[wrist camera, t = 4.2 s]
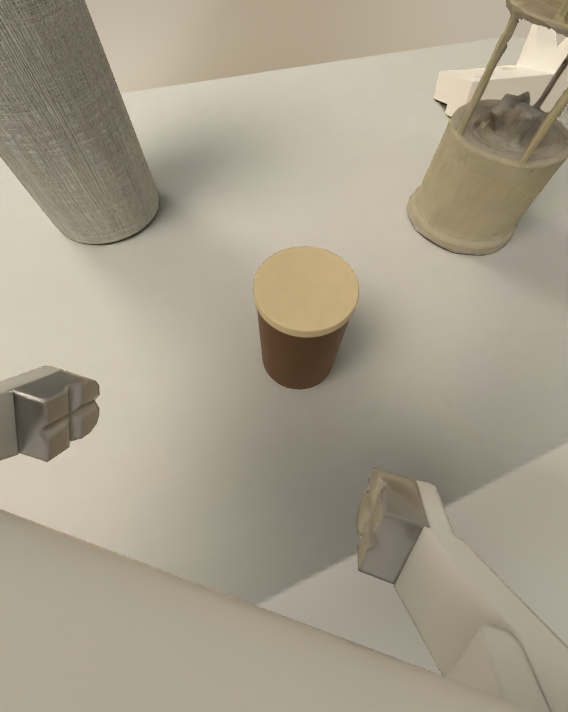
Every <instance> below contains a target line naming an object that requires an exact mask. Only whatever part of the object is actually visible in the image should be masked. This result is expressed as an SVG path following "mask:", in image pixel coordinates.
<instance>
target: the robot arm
mask: <svg viewBox="0 0 568 712" xmlns="http://www.w3.org/2000/svg"><path fill="white" fill-rule="evenodd" d="M99 395H100V393H99V384H98V383H97V382H96V381H95V380H92V379H89V378H86V377H83V376H80V375H77V374H74V373H71V372H68V371H64V370H62V369H59V368H55V367H52V366H43V367H40V368H37V369H34V370H32V371H29V372H26V373H23V374H20V375H18V376H15V377H12V378H9V379H7V380H4V381H1V382H0V460H3V459H6V458H9V457H12V456H15V455H18V453H21V454H24V455H27V456H31V457H34V458H37V459H40V460H43V461H46V462H48V461H50V460H51V459H53V458H54V457H55V456H57V455H58V454H60V453H61V452H63V451H64V450H66V449H67V448H69V445H70V442H71V441H73V440H77V439H81V438H83V437H85V436H86V435H87V434H89V433H90V432H91V431H92V429H93V428H94V427H95V425H96V424H97V421H98V418H99V407H98V405H97V403H96V401H95V399H96V398H97V397H98V396H99ZM357 531H358V533H359V534H360V536H361V538H360V541H359V543H358V546H357V547H358V571H360V572H363V573H366V574H368V575H371V576H374V577H376V578H379V579H381V580H384V581H386V582H389V583H392V584H394V587H395V589H396V591H397V593H398V595H399V597H400V598H401V600H402V602H403V604H404V606H405V607H406V609H407V611H408V613H409V615H410V617H411V618H412V620H413V622H414V624H415V626H416V628H417V630H418V631H419V633H420V635H421V637H422V639H423V641H424V642H425V644H426V646H427V648H428V649H429V651H430V653H431V655H432V657H433V659H434V661H435V663H436V664H437V666H438V668H439V670H440V671H441V674H442V675H443V676H441V675H439V674H436V673H434V672H431V671H428V670H426V669H423V668H420V667H417V666H415V665H412V664H410V663H407V662H404V661H402V660H399V659H396V658H394V657H391V656H388V655H386V654H383V653H381V652H378V651H375V650H372V649H370V648H367V647H364V646H362V645H359V644H357V643H354V642H351V641H349V640H346V639H343V638H341V637H338V636H335V635H333V634H330V633H327V632H325V631H322V630H319V629H317V628H314V627H312V626H309V625H306V624H304V623H301V622H298V621H295V620H293V619H290V618H287V617H285V616H282V615H280V614H277V613H275V612H272V611H269V610H266V609H264V608H261V607H259V606H256V605H253V604H251V603H248V602H245V601H243V600H240V599H237V598H235V597H232V596H230V595H227V594H224V593H222V592H219V591H216V590H214V589H211V588H208V587H206V586H203V585H200V584H198V583H195V582H192V581H190V580H187V579H184V578H182V577H179V576H177V575H174V574H171V573H169V572H166V571H163V570H161V569H158V568H155V567H153V566H150V565H147V564H145V563H142V562H139V561H137V560H134V559H131V558H129V557H126V556H123V555H121V554H118V553H116V552H113V551H110V550H108V549H105V548H102V547H100V546H97V545H94V544H92V543H89V542H86V541H84V540H81V539H78V538H76V537H73V536H70V535H68V534H65V533H63V532H60V531H57V530H55V529H52V528H49V527H47V526H44V525H41V524H39V523H36V522H33V521H31V520H28V519H25V518H23V517H20V516H17V515H15V514H12V513H10V512H7V511H4V510H2V509H0V712H568V647H567V646H566V645H565V644H564V643H563V642H562V641H561V640H560V638H559V637H557V636H556V634H555V633H554V632H553V631H552V630H551V629H550V628H549V627H548V626H547V625H546V624H545V623H544V622H543V621H542V620H541V619H540V618H539V617H538V616H537V615H536V614H535V613H534V612H533V611H532V610H531V609H530V608H529V607H528V606H527V605H526V604H525V603H524V602H523V601H522V600H521V599H520V598H519V597H518V596H517V595H516V594H515V593H514V592H513V591H512V590H511V589H510V588H509V586H508V585H506V584H505V583H504V581H503V580H502V579H501V578H500V577H499V576H498V575H497V574H496V573H495V572H494V571H493V570H492V569H491V568H490V567H489V566H488V565H487V564H486V563H485V562H484V561H483V560H482V559H481V558H480V557H479V556H478V555H477V554H476V553H475V552H474V551H473V550H472V549H471V548H470V547H469V546H468V545H467V544H466V543H465V542H464V541H463V540H462V539H461V538H458V537H455V535H454V532H453V530H452V527H451V524H450V522H449V519H448V517H447V514H446V511H445V509H444V506H443V504H442V501H441V498H440V496H439V493H438V490H437V488H436V487H435V486H434V485H433V484H430V483H427V482H423V481H419V480H416V479H411V478H407V477H404V476H401V475H397V474H394V473H390V472H387V471H383V470H380V469H377V468H374V470H373V472H372V473H371V476H370V478H369V490H368V491H367V492H365V493H364V494H363V496H362V499H361V502H360V506H359V510H358V516H357Z"/></svg>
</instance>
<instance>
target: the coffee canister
mask: <svg viewBox="0 0 568 712" xmlns="http://www.w3.org/2000/svg"><path fill="white" fill-rule="evenodd" d="M253 293H254V300H255V304H256V307H257V312H258V321H259V330H260V338H261V347H262V356H263V363H264V366H265V369H266V371H267V372H268V374H269V375H270V376H271V378H272V379H273V380H275V381H276V382H277V383H279V384H281V385H283V386H285V387H288V388H292V389H305V388H310V387H313V386H315V385H317V384H319V383H320V382H321V381H323V380H324V379H325V378H326V377H327V375H328V374H329V372H330V370H331V368H332V365H333V362H334V360H335V357H336V354H337V351H338V349H339V346H340V343H341V340H342V338H343V335H344V332H345V329H346V326H347V324H348V321H349V319H350V317H351V316H352V314H353V312H354V310H355V307H356V305H357V302H358V298H359V285H358V281H357V278H356V275H355V273H354V272H353V270H352V269H351V267H350V266H349V265H348V264H347V263H346V262H345V261H344V260H343V259H342V258H340V257H339V256H337V255H335V254H333V253H331V252H329V251H327V250H324V249H320V248H315V247H306V246H304V247H293V248H288V249H285V250H282V251H279V252H277V253H275V254H274V255H272V256H270V257H269V258H268V259H267V260H266V261H265V262H264V263H263V264H262V265H261V266H260V268H259V269H258V271H257V273H256V275H255V278H254V283H253Z"/></svg>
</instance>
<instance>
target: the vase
mask: <svg viewBox="0 0 568 712" xmlns="http://www.w3.org/2000/svg"><path fill="white" fill-rule="evenodd" d="M0 157H1V158H2V159H3V160H4V162H5V163H6V164H7V166H8V167H9V168H10V169H11V171H12V172H13V173H14V174H15V176H16V177H17V178H18V180H19V181H20V182H21V183H22V185H23V186H24V187H25V188H26V190H27V191H28V192H29V193H30V195H31V196H32V197H33V199H34V200H35V201H36V202H37V204H38V205H39V206H40V207H41V209H42V210H43V211H44V212H45V214H46V215H47V216H48V218H49V219H50V220H51V221H52V222H53V224H54V225H55V226H56V227H57V228H58V229H59V230H60V231H61V232H62V234H64V235H65V236H66V237H68V238H70V239H72V240H74V241H77V242H81V243H88V244H103V243H111V242H115V241H119V240H122V239H125V238H127V237H130V236H132V235H133V234H135V233H137V232H139V231H140V230H142V229H143V228H144V227H145V226H146V225H147V224H148V223H149V222H150V221H151V220H152V219H153V218H154V216H155V214H156V212H157V210H158V207H159V196H158V193H157V190H156V186H155V183H154V181H153V178H152V175H151V173H150V170H149V168H148V165H147V162H146V160H145V157H144V154H143V152H142V149H141V147H140V144H139V141H138V139H137V136H136V133H135V131H134V128H133V126H132V123H131V120H130V118H129V115H128V113H127V110H126V107H125V105H124V102H123V99H122V97H121V94H120V92H119V89H118V86H117V84H116V81H115V78H114V76H113V73H112V71H111V68H110V65H109V63H108V60H107V58H106V55H105V52H104V50H103V47H102V44H101V42H100V39H99V37H98V34H97V31H96V29H95V26H94V24H93V21H92V18H91V16H90V13H89V10H88V8H87V5H86V3H85V0H0Z"/></svg>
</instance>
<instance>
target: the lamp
mask: <svg viewBox="0 0 568 712" xmlns="http://www.w3.org/2000/svg"><path fill="white" fill-rule="evenodd" d="M506 6H507V8H508V9H509V11H510V14H511V16H510V19H509V22H508V26H507V27H506V29H505V31H504V33H503V34H502V36H501V37H500V39H499V41H498V43H497V45H496V47H495V50H494V52H493V54H492V57H491V59H490V61H489V63H488V65H487V67H486V69H485V71H484V73H483V75H482V77H481V79H480V81H479V84H478V86H477V88H476V90H475V92H474V94H473V96H472V98H471V101H470V102H468V103H467V104H465V105H463V106H461V107H459V108H458V109H457V110H456V111H455V112H454V113H453V115H452V117H451V119H450V121H449V123H448V126H447V128H446V130H445V133H444V135H443V137H442V139H441V142H440V144H439V146H438V148H437V150H436V153H435V155H434V157H433V159H432V162H431V164H430V166H429V168H428V170H427V173H426V175H425V177H424V180H423V182H422V184H421V186H419V187H418V188H417V189H416V190H415V192H414V193H413V194H412V195H411V197H410V200H409V203H408V212H409V217H410V219H411V221H412V223H413V225H414V227H415V229H416V231H418V232H419V233H421V234H422V235H424V236H425V237H426V238H428V239H429V240H431V241H432V242H434V243H436V244H437V245H439V246H441V247H443V248H445V249H447V250H450V251H452V252H454V253H462V254H473V255H485V254H490V253H494V252H496V251H498V250H499V249H500V248H501V247H503V246H504V245H505V244H506V243H507V242H508V241H509V239H510V238H511V237H512V235H513V233H514V231H515V228H516V223H517V221H518V220H519V219H520V218H521V216H522V215H523V214H524V212H525V211H526V210H527V209H528V207H529V206H530V205H531V203H532V202H533V201H534V199H535V198H536V197H537V196H538V194H539V193H540V192H541V190H542V189H543V188H544V186H545V185H546V184H547V182H548V181H549V180H550V179H551V177H552V176H553V175H554V173H555V172H556V171H557V170H558V168H559V167H560V166H561V165H562V163H563V162H564V161H565V160H566V158H567V157H568V130H567V129H566V128H565V127H564V126H563V125H562V123H561V122H559V121H558V120H557V117H558V116H559V114H560V113H561V112H562V110H563V109H564V107H565V106H566V104H567V103H568V87H567V89H566V90H564V91H563V93H562V95H561V97H560V98H559V99H558V100H557V101H556V103H555V105H554V107H553V108H552V109H551V111H550V113H549V114H547V113H546V112H544V111H542V110H541V109H540V107H541V105H542V104H543V102H544V101H545V99H546V98H547V96H548V95H549V93H550V92H551V90H552V88H553V87H554V85H555V83H556V82H557V80H558V79H559V77H560V76H561V74H562V73H563V71H564V70H565V69H566V67H567V66H568V54H567V56H566V58H565V59H564V61H563V62H562V64H561V65H560V67H559V68H558V69H557V71H556V72H555V74H554V76H553V77H552V79H551V81H550V82H549V84H548V85H547V87H546V89H545V90H544V92H543V93H542V95H541V97H540V98H539V100H538V101H537V102H536V103H535V104H534V105H533V106H531V105H529V104H530V93H529V92H528V91H526V92H524V93H522V94H520V95H518V96H516V95H512V94H505V95H504V97H503V98H502V99H501V100H495V99H486V100H480V99H481V97H482V95H483V93H484V91H485V89H486V87H487V84H488V82H489V80H490V78H491V76H492V73H493V71H494V69H495V67H496V65H497V63H498V61H499V60H500V58H501V56H502V54H503V53H504V52H505V50H506V48H507V42H508V41H509V40H510V38H511V37H512V34H513V33H514V30H515V28H516V26H517V23H519V21H518V19H519V18H520V19H521V20H522V19H525V20H527V21H529V22H531V23H533V24H535V25H539V26H540V25H542V26H543V27H547V29H548V30H549V29H551V28H552V29H553V30H554V31H556V32H557V33H558V34H563V35H565V36H566V37H567V38H568V0H506Z"/></svg>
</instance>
